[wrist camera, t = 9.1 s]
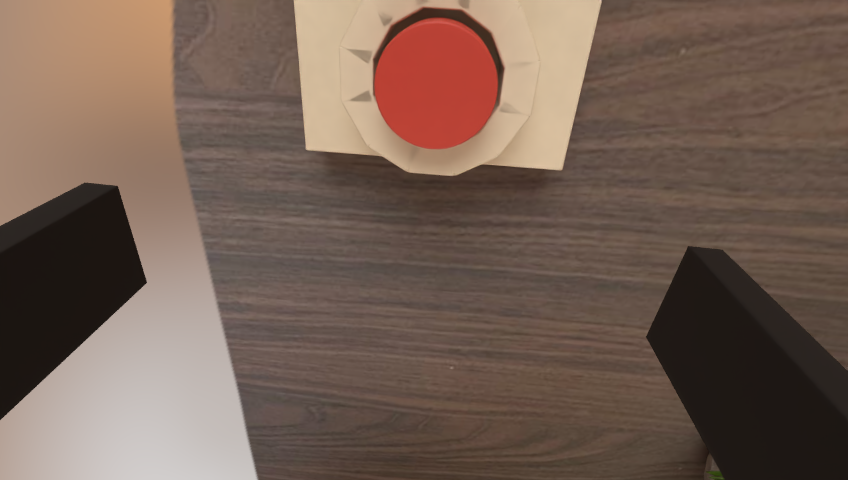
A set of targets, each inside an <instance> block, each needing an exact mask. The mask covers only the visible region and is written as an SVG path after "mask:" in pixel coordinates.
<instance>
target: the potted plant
mask: <svg viewBox="0 0 848 480" xmlns="http://www.w3.org/2000/svg"><path fill="white" fill-rule="evenodd" d="M703 480H724V478H723V476H722V474H721V472H720V470H719V469H718V467H717V465H716V463H715V461H714V459H713V458H712V456H711V454H710V453H709V455H708V457H707V461H706V467H705V473H704V479H703Z"/></svg>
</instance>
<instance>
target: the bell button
mask: <svg viewBox="0 0 848 480" xmlns="http://www.w3.org/2000/svg"><path fill="white" fill-rule="evenodd" d="M374 88H375V97H376V102H377V105H378V108H379V111H380V113H381V115H382V117H383V119H384V120H385V122H386V123H387V125H388V126H389V127H390V128H391V130H392V131H393V132H395V133H396V134H397V135H398V136H399V137H400V138H402V139H403V140H405V141H407V142H408V143H410V144H413V145H415V146H418V147H421V148H426V149H447V148H451V147H455V146H457V145H460V144H462V143H464V142H466V141H468V140H469V139H470V138H472V137H473V136H474V135H476V134H477V133H478V132H479V131H480V130H481V129H482V127H483V126H484V125H485V124H486V122H487V121H488V119H489V118H490V116H491V113H492V111H493V109H494V106H495V103H496V99H497V93H498V76H497V70H496V66H495V63H494V60H493V58H492V56H491V54H490V52H489V50H488V48H487V46H486V45H485V43H484V42H483V40H482V39H481V38H480V37H479V35H478V34H477V33H476V32H474V31H473V30H472V29H471V28H469V27H468V26H466V25H465V24H463V23H461V22H459V21H456V20H453V19H448V18H428V19H424V20H421V21H418V22H416V23H414V24H412V25H410V26H409V27H407V28H406V29H404V30H403V31H401V32H400V33H399V34H397V35H396V36H395V37H394V38H393V39H392V40H391V41H390V42H389V44H388V45H387V46H386V48H385V49H384V51H383V53H382V55H381V57H380V59H379V62H378V65H377V68H376V73H375V81H374Z"/></svg>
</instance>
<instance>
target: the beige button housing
mask: <svg viewBox="0 0 848 480" xmlns="http://www.w3.org/2000/svg"><path fill="white" fill-rule="evenodd" d="M601 2H602V0H294V9H295V21H296V33H297V45H298V57H299V69H300V81H301V94H302V106H303V118H304V130H305V142H306V150H312V151H325V152H337V153H350V154H362V155H375V156H383V157H384V158H386V159H387V160H389V161H390V162H392V163H394V164H395V165H397V166H398V167H400V168H401V169H403V170H404V171H408V172H410V173H422V174H434V175H446V176H454V175H458V174H460V173H463V172H465V171H467V170H470V169H472V168H474V167H476V166H479V165H481V164H487V165H500V166H512V167H525V168H537V169H550V170H562V168H563V164H564V160H565V155H566V151H567V147H568V143H569V138H570V134H571V130H572V126H573V121H574V117H575V113H576V109H577V104H578V100H579V96H580V92H581V87H582V83H583V79H584V75H585V70H586V66H587V62H588V58H589V53H590V49H591V45H592V41H593V36H594V32H595V28H596V24H597V19H598V15H599V11H600V6H601ZM428 18H448V19H453V20H456V21H459V22H461V23H463V24H465V25H466V26H468V27H469V28H471V29H472V30H473V31H474V32H476V33H477V34H478V35H479V37H480V38H481V39H482V40H483V42H484V43H485V45H486V46H487V48H488V50H489V52H490V54H491V56H492V58H493V60H494V63H495V66H496V70H497V76H498V93H497V99H496V103H495V106H494V109H493V111H492V113H491V116H490V118H489V119H488V121H487V122H486V124H485V125H484V126H483V127H482V129H481V130H480V131H479V132H478V133H477V134H476V135H474V136H473V137H472V138H470V139H469V140H468V141H466V142H464V143H462V144H460V145H457V146H455V147H451V148H447V149H426V148H421V147H418V146H415V145H413V144H410V143H408V142H407V141H405V140H403V139H402V138H400V137H399V136H398V135H397V134H396V133H395V132H393V131H392V130H391V128H390V127H389V126H388V125H387V123H386V122H385V120H384V119H383V117H382V115H381V113H380V111H379V108H378V105H377V102H376V97H375V88H374V81H375V73H376V68H377V65H378V62H379V59H380V57H381V55H382V53H383V51H384V49H385V48H386V46H387V45H388V44H389V42H390V41H391V40H392V39H393V38H394V37H395V36H396V35H397V34H399V33H400V32H401V31H403V30H404V29H406V28H407V27H409V26H410V25H412V24H414V23H416V22H418V21H421V20H424V19H428Z"/></svg>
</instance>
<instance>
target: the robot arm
mask: <svg viewBox="0 0 848 480" xmlns="http://www.w3.org/2000/svg"><path fill="white" fill-rule="evenodd" d="M146 283H147V282H146V278H145V275H144V272H143V268H142V265H141V261H140V258H139V255H138V252H137V248H136V245H135V242H134V238H133V235H132V232H131V229H130V225H129V222H128V219H127V215H126V212H125V209H124V205H123V202H122V199H121V195H120V192H119V189H118V186H112V185H103V184H93V183H84V184H81V185H80V186H78V187H76V188H74V189H72V190H70V191H68V192H66V193H64V194H62V195H60V196H58V197H56V198H54V199H52V200H50V201H48V202H46V203H44V204H42V205H40V206H38V207H37V208H35V209H33V210H31V211H29V212H27V213H25V214H23V215H21V216H19V217H17V218H15V219H13V220H11V221H9V222H8V223H5V224H3V225H1V226H0V420H1V419H2V418H3V417H4V416H5V415H6V414H7V413H8V412H9V411H10V410H11V409H13V408H14V407H15V406H16V405H17V404H18V403H19V402H20V401H21V400H22V399H23V398H24V397H25V396H26V395H28V394H29V393H30V392H31V391H32V390H33V389H34V388H35V387H36V386H37V385H38V384H39V383H40V382H41V381H42V380H43V379H45V378H46V377H47V376H48V375H49V374H50V373H51V372H52V371H53V370H54V369H55V368H56V367H57V366H58V365H60V364H61V362H63V361H64V360H65V359H66V358H67V357H68V356H69V355H70V354H71V353H72V352H73V351H74V350H76V349H77V348H78V347H79V346H80V345H81V344H82V343H83V342H84V341H85V340H86V339H87V338H88V337H89V336H90V335H91V334H93V333H94V332H95V331H96V330H97V329H98V328H99V327H100V326H101V325H102V324H103V323H104V322H105V321H107V320H108V319H109V318H110V317H111V316H112V315H113V314H114V313H115V312H116V311H117V310H118V309H119V308H120V307H121V306H123V305H124V304H125V303H126V302H127V301H128V300H129V299H130V298H131V297H132V296H133V295H134V294H135V293H136V292H137V291H138V290H140V289H141V288H142V287H143V286H144V285H145V284H146ZM646 338H647V339H648V341H649V343H650V345H651V347H652V349H653V350H654V352H655V354H656V356H657V358H658V359H659V361H660V363H661V365H662V367H663V369H664V370H665V372H666V374H667V376H668V378H669V379H670V381H671V383H672V385H673V387H674V389H675V390H676V392H677V394H678V396H679V398H680V399H681V401H682V403H683V405H684V407H685V409H686V410H687V412H688V414H689V416H690V418H691V419H692V421H693V423H694V425H695V427H696V429H697V430H698V432H699V434H700V436H701V438H702V439H703V441H704V443H705V445H706V447H707V449H708V450H709V452H710V454H711V456H712V458H713V459H714V461H715V463H716V465H717V467H718V469H719V470H720V472H721V474H722V476H723V478H724V480H848V371H847V370H846V369H845V368H844V367H843V366H842V365H841V364H840V363H839V362H838V361H837V360H836V359H835V358H834V357H833V356H831V355H830V354H829V353H828V352H827V351H826V350H825V349H824V348H823V347H822V346H821V345H820V344H819V343H818V342H817V341H816V340H815V339H814V338H813V337H812V336H811V335H810V334H809V333H808V332H807V331H806V330H805V329H804V328H803V327H802V326H801V325H799V324H798V323H797V322H796V321H795V320H794V319H793V318H792V317H791V316H790V315H789V314H788V313H787V312H786V311H785V310H784V309H783V308H782V307H781V306H780V305H779V304H778V303H777V302H776V301H775V300H774V299H773V298H772V297H771V296H770V295H769V294H767V293H766V292H765V291H764V290H763V289H762V288H761V287H760V286H759V285H758V284H757V283H756V282H755V281H754V280H753V279H752V278H751V277H750V276H749V275H748V274H747V273H746V272H745V271H744V270H743V269H742V268H741V267H740V266H739V265H738V264H737V263H735V262H734V261H733V260H732V259H731V258H730V257H729V256H728V255H727V254H726V253H725V252H724V251H723V250H719V249H710V248H700V247H691V246H688V248H687V250H686V252H685V255H684V257H683V259H682V261H681V263H680V265H679V267H678V270H677V272H676V274H675V276H674V278H673V280H672V282H671V285H670V287H669V289H668V291H667V293H666V295H665V297H664V300H663V302H662V304H661V306H660V308H659V310H658V312H657V315H656V317H655V319H654V321H653V323H652V325H651V328H650V330H649V332H648V334H647V336H646Z"/></svg>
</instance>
